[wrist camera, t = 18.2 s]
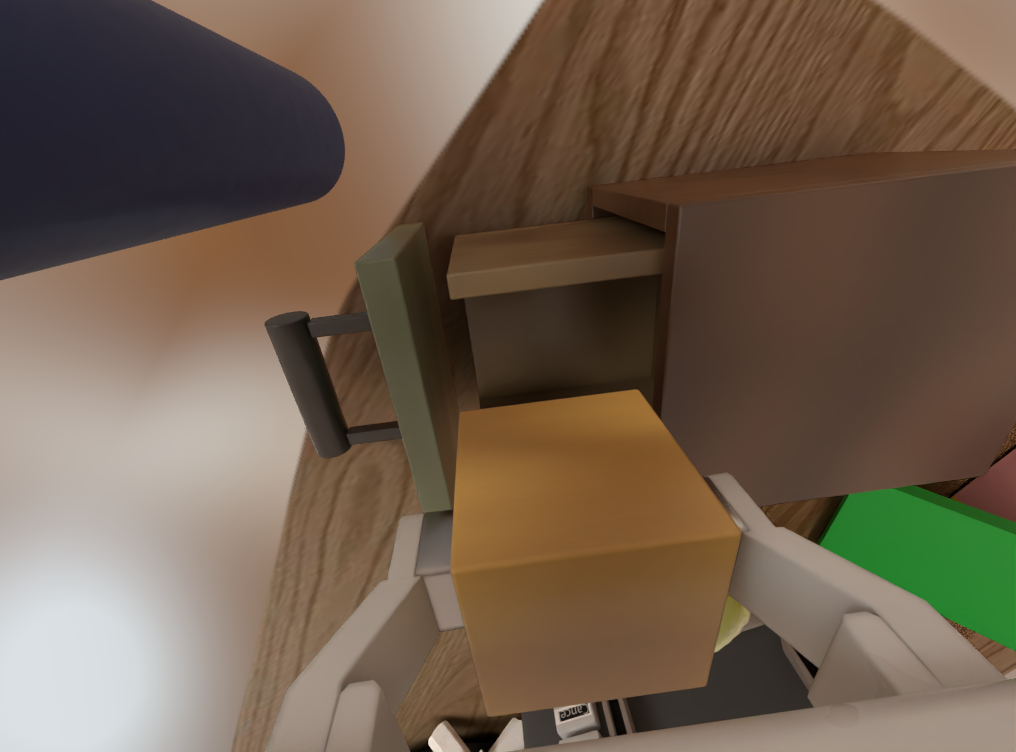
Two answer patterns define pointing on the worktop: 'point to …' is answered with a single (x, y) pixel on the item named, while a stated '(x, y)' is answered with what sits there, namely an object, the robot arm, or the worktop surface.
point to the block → (585, 553)
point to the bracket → (933, 554)
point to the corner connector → (452, 748)
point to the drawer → (485, 332)
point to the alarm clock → (993, 489)
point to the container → (473, 747)
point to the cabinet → (835, 318)
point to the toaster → (691, 695)
